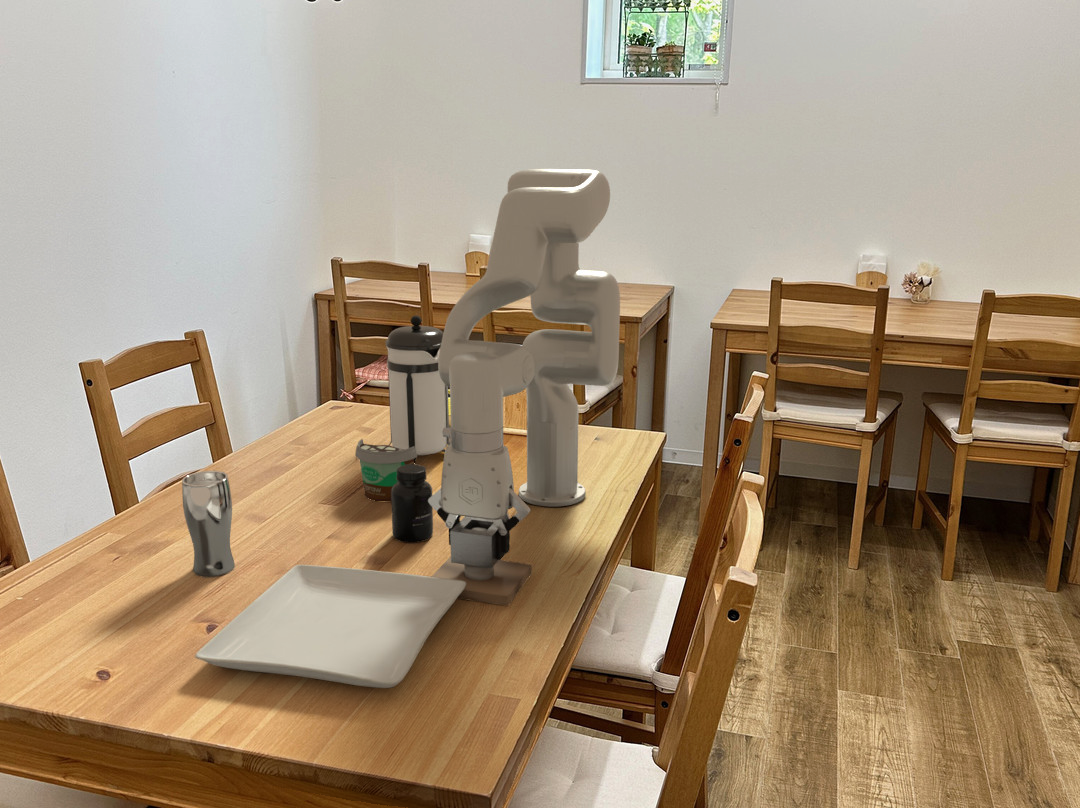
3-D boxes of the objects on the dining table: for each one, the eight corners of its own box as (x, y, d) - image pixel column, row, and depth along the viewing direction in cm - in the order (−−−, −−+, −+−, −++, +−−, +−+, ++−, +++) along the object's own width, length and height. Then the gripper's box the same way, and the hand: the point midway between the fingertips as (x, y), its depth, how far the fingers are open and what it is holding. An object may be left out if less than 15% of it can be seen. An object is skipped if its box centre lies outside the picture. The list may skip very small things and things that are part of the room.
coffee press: (466, 444, 202) (463, 310, 194) (442, 468, 187) (438, 323, 179) (392, 438, 206) (386, 306, 198) (363, 461, 191) (356, 319, 183)
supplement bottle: (426, 545, 150) (423, 477, 147) (386, 542, 152) (383, 474, 148) (438, 529, 157) (436, 463, 154) (400, 525, 158) (398, 460, 155)
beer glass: (247, 562, 144) (238, 472, 140) (218, 581, 138) (209, 488, 134) (210, 556, 146) (201, 467, 142) (180, 574, 140) (170, 482, 136)
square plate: (469, 602, 133) (468, 577, 131) (399, 710, 107) (398, 681, 106) (298, 582, 138) (296, 558, 137) (193, 680, 113) (190, 652, 112)
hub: (467, 545, 140) (466, 514, 139) (506, 550, 138) (506, 519, 137) (451, 562, 134) (450, 531, 133) (491, 568, 132) (491, 536, 131)
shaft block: (453, 562, 144) (452, 512, 142) (531, 573, 141) (531, 522, 138) (424, 593, 134) (422, 539, 132) (508, 606, 130) (507, 551, 128)
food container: (344, 498, 170) (341, 447, 168) (362, 488, 176) (359, 438, 173) (401, 508, 166) (399, 456, 163) (418, 497, 171) (416, 446, 169)
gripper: (411, 440, 130) (415, 555, 135) (526, 452, 125) (526, 571, 130) (432, 425, 137) (436, 535, 142) (542, 436, 132) (542, 550, 137)
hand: (479, 552), depth 136 cm, fingers closed on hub, 6 cm apart
